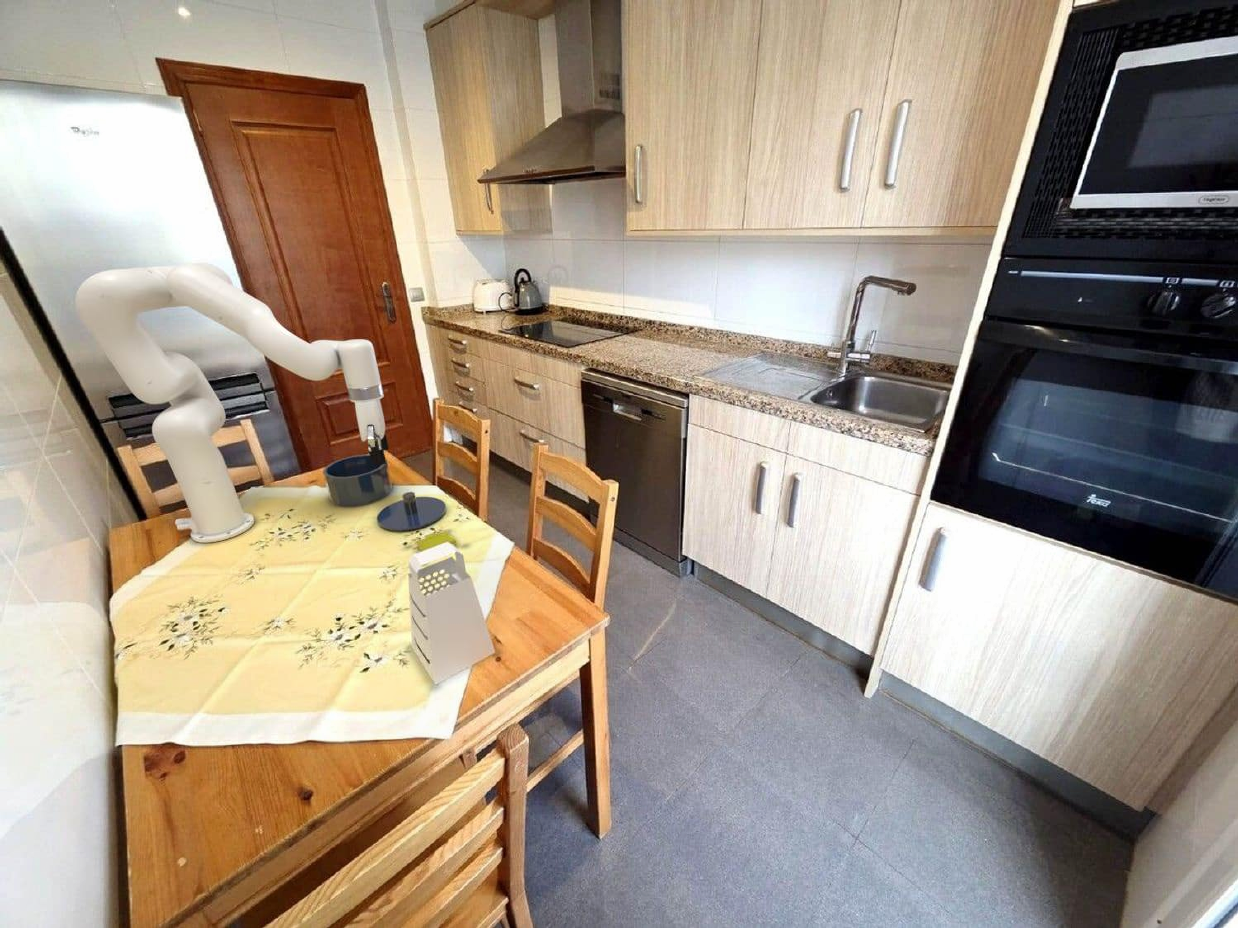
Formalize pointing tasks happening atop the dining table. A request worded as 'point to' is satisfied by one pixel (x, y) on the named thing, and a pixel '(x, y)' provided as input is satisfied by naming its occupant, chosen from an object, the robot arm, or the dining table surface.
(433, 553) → the grater
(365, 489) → the pot
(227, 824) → the dining table surface
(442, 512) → the lid
